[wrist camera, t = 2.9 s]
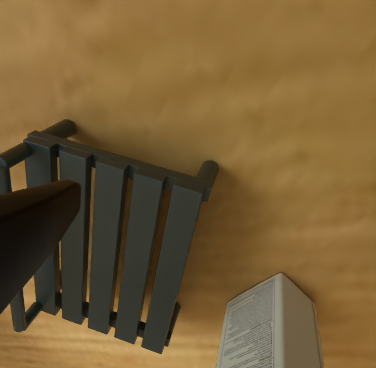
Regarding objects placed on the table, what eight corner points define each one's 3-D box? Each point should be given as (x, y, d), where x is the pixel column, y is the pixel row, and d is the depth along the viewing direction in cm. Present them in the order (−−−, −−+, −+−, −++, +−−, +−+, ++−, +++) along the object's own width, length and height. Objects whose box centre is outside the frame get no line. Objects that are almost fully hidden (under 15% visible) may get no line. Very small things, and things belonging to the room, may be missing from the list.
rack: (220, 162, 22) (198, 221, 16) (179, 311, 30) (154, 388, 24) (61, 117, 23) (-17, 155, 17) (63, 271, 31) (11, 334, 25)
